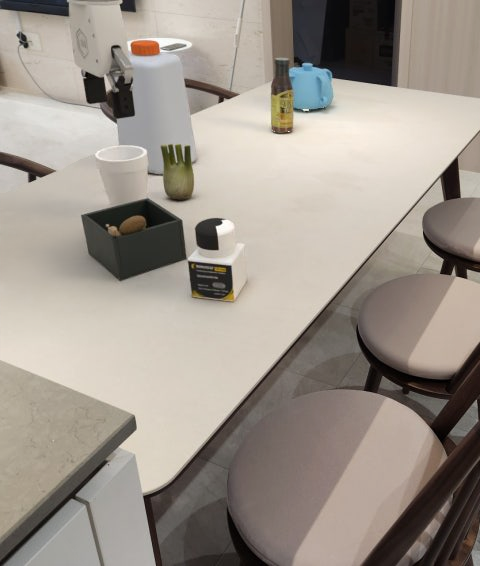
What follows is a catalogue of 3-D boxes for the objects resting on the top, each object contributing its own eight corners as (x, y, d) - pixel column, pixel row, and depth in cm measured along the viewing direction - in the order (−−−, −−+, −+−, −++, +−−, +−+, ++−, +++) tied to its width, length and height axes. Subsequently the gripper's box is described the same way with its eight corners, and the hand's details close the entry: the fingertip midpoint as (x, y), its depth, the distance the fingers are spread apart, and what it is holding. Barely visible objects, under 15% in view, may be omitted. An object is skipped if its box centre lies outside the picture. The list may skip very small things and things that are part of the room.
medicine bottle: (191, 297, 102) (183, 230, 96) (207, 276, 108) (200, 211, 102) (234, 302, 101) (229, 235, 95) (247, 280, 107) (243, 216, 101)
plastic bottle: (151, 150, 162) (136, 34, 148) (204, 158, 158) (193, 40, 144) (113, 168, 150) (92, 44, 135) (169, 178, 146) (154, 51, 132)
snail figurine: (110, 246, 111) (97, 214, 100) (142, 227, 113) (133, 195, 103) (127, 269, 110) (116, 240, 99) (159, 250, 113) (152, 220, 102)
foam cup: (98, 213, 128) (86, 151, 121) (141, 202, 133) (132, 142, 127) (120, 229, 122) (109, 165, 115) (164, 216, 128) (156, 154, 121)
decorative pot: (326, 116, 196) (326, 71, 189) (276, 111, 198) (275, 66, 191) (337, 103, 210) (338, 60, 203) (290, 99, 212) (289, 56, 205)
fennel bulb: (198, 196, 138) (192, 142, 132) (186, 204, 134) (180, 149, 128) (174, 192, 139) (168, 138, 133) (161, 200, 135) (154, 145, 129)
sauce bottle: (282, 135, 177) (280, 62, 167) (266, 131, 180) (263, 58, 170) (298, 131, 182) (297, 59, 172) (282, 126, 185) (281, 55, 175)
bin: (119, 280, 106) (112, 239, 102) (88, 253, 113) (80, 214, 109) (186, 258, 113) (182, 219, 109) (153, 234, 121) (148, 197, 117)
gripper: (44, -16, 94) (64, 100, 103) (93, -1, 84) (111, 127, 93) (94, -16, 99) (109, 94, 108) (146, -2, 89) (159, 119, 97)
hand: (110, 109), depth 100 cm, fingers open, 9 cm apart
